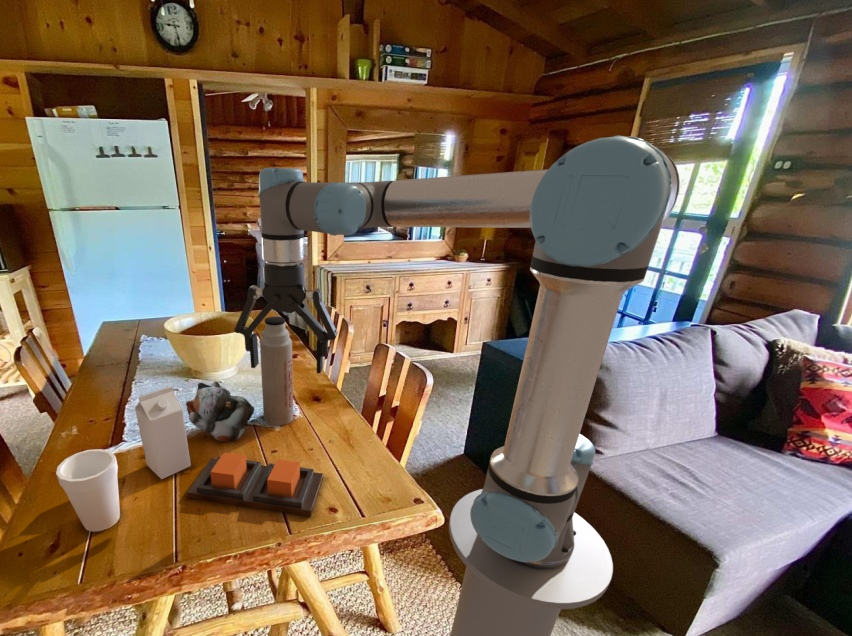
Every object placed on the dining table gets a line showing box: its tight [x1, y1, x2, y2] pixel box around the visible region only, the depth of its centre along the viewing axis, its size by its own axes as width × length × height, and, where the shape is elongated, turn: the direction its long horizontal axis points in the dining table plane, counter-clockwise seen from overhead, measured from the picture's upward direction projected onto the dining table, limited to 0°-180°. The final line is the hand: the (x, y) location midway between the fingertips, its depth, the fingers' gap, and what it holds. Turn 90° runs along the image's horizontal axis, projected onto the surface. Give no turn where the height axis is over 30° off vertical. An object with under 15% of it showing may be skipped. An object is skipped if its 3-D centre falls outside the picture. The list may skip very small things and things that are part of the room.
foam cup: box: [55, 448, 121, 533], centre depth 81 cm, size 10×9×13 cm
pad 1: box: [210, 452, 247, 490], centre depth 93 cm, size 5×7×4 cm
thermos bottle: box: [259, 316, 294, 426], centre depth 113 cm, size 8×8×28 cm
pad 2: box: [267, 459, 301, 498], centre depth 91 cm, size 5×7×4 cm
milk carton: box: [134, 385, 192, 480], centre depth 95 cm, size 7×7×19 cm
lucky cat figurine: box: [185, 380, 255, 443], centre depth 111 cm, size 15×12×14 cm
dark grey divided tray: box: [186, 455, 324, 517], centre depth 93 cm, size 26×12×3 cm, turn 80°
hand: (287, 368), depth 90 cm, fingers open, 13 cm apart
